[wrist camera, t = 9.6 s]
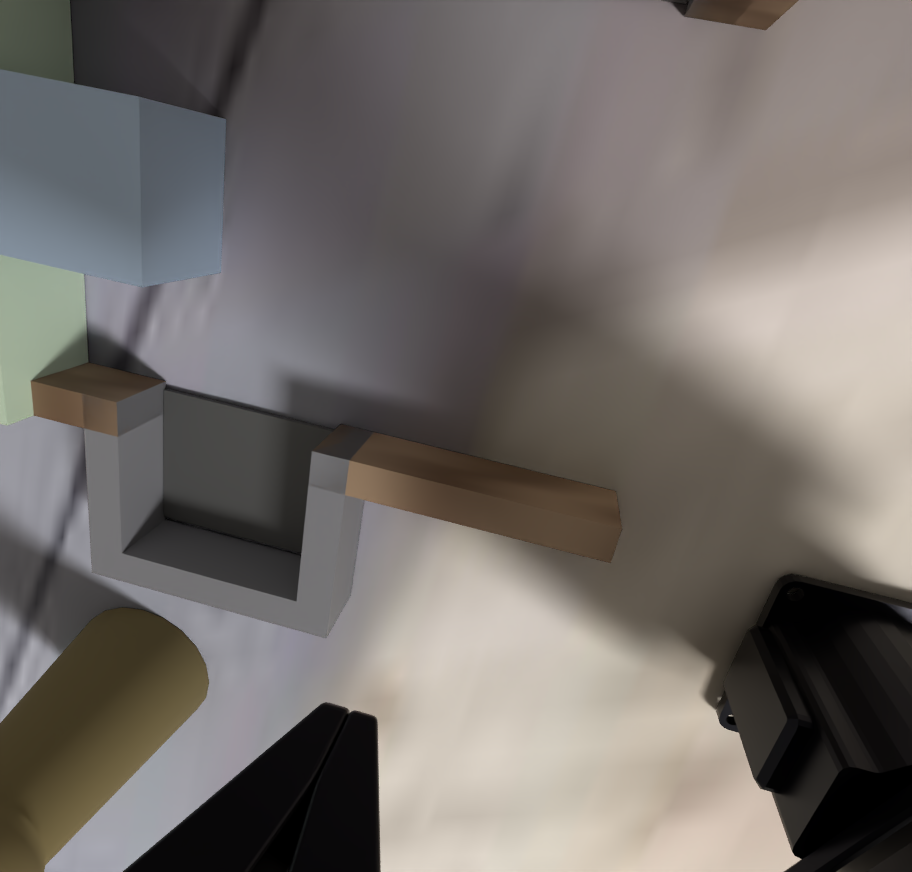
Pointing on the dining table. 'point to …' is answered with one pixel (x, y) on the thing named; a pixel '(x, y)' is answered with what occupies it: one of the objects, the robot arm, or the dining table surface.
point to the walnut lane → (413, 464)
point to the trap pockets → (226, 505)
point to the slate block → (109, 182)
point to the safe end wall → (23, 282)
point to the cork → (91, 729)
